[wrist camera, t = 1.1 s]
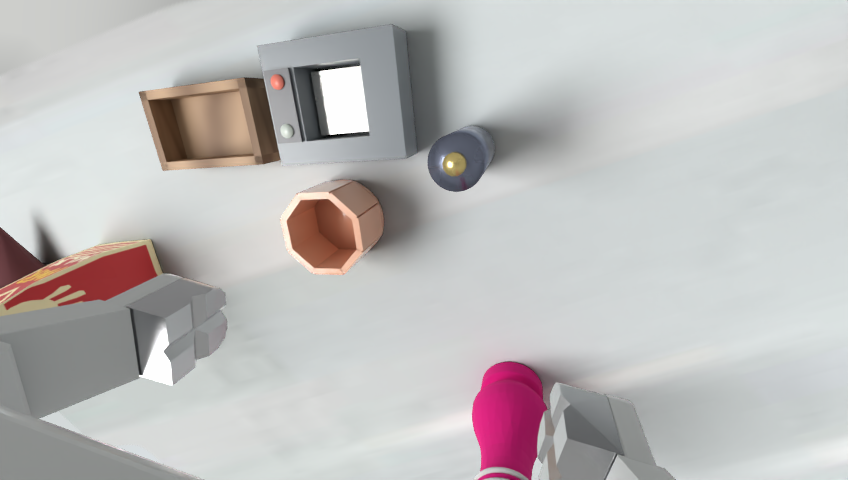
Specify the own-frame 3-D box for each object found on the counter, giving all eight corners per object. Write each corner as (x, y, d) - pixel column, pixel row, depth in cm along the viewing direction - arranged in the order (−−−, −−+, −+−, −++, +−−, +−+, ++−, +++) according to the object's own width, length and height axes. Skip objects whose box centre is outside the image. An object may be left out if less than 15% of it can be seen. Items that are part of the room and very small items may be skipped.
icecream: (-55, 232, 47) (5, 331, 54) (-34, 243, 44) (27, 348, 50) (20, 213, 53) (66, 305, 59) (43, 222, 49) (89, 319, 56)
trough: (268, 79, 37) (244, 77, 34) (284, 158, 39) (263, 164, 36) (168, 92, 40) (138, 91, 37) (189, 165, 43) (162, 170, 39)
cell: (494, 123, 33) (482, 132, 25) (495, 170, 34) (484, 192, 27) (448, 127, 34) (422, 136, 26) (451, 173, 36) (428, 194, 28)
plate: (370, 65, 34) (367, 64, 33) (378, 130, 35) (375, 130, 35) (315, 72, 35) (310, 72, 34) (325, 134, 37) (321, 135, 36)
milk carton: (98, 244, 50) (-146, 327, 32) (149, 235, 48) (-86, 321, 29) (128, 307, 53) (-82, 416, 35) (179, 302, 50) (-22, 418, 32)
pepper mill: (525, 347, 40) (520, 560, 21) (560, 401, 41) (582, 647, 23) (465, 370, 42) (415, 575, 24) (499, 420, 43) (475, 652, 25)
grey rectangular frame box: (405, 31, 32) (390, 23, 29) (417, 152, 36) (404, 159, 32) (281, 50, 36) (253, 45, 32) (302, 160, 39) (279, 166, 35)
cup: (378, 177, 37) (354, 190, 32) (388, 253, 40) (367, 275, 35) (307, 181, 40) (274, 193, 34) (320, 252, 42) (291, 274, 37)
